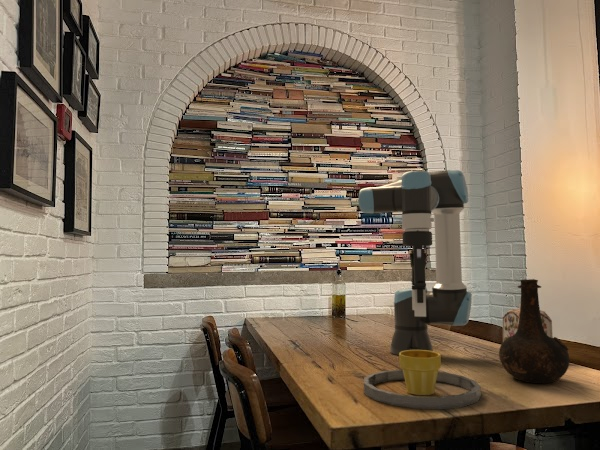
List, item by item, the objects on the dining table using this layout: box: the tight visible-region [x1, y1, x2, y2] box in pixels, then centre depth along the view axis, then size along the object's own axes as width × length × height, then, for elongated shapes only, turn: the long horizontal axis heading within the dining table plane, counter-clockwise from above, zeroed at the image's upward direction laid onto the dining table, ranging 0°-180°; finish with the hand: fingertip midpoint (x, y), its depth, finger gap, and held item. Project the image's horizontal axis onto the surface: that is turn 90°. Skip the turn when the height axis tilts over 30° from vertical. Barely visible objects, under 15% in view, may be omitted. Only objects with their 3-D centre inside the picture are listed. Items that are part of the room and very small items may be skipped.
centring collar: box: [363, 369, 482, 410], centre depth 126 cm, size 28×28×2 cm
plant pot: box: [398, 350, 442, 396], centre depth 126 cm, size 10×10×10 cm
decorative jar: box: [502, 303, 554, 343], centre depth 171 cm, size 12×12×18 cm
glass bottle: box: [498, 278, 570, 384], centre depth 139 cm, size 18×18×28 cm
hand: (418, 313), depth 128 cm, fingers open, 13 cm apart
